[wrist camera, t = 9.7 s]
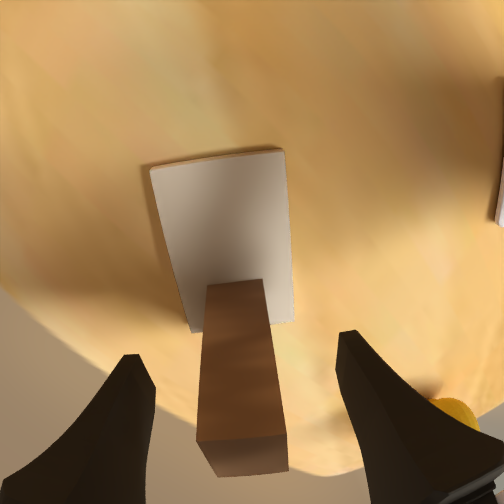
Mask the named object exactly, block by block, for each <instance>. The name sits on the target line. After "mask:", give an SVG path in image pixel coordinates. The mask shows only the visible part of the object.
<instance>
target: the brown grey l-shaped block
mask: <svg viewBox="0 0 504 504" xmlns="http://www.w3.org/2000/svg"><path fill="white" fill-rule="evenodd" d="M149 172H150V177H151V182H152V186H153V191H154V195H155V200H156V204H157V208H158V213H159V217H160V221H161V225H162V229H163V233H164V237H165V241H166V245H167V249H168V253H169V257H170V261H171V264H172V268H173V272H174V276H175V279H176V283H177V286H178V290H179V293H180V297H181V300H182V304H183V307H184V311H185V314H186V317H187V321H188V324H189V327H190V330H191V333H199V332H203V338H202V351H201V365H200V380H199V396H198V413H197V433H196V442H197V443H198V445H199V447H200V449H201V450H202V452H203V454H204V455H205V457H206V459H207V461H208V462H209V464H210V466H211V467H212V469H213V471H214V472H215V474H216V475H217V477H237V476H251V475H261V474H271V473H279V472H287V471H289V467H288V448H287V432H286V426H285V419H284V413H283V406H282V400H281V393H280V387H279V380H278V374H277V367H276V361H275V354H274V348H273V342H272V335H271V329H270V325H271V324H279V323H286V322H293V321H295V320H294V295H293V273H292V254H291V236H290V220H289V205H288V191H287V177H286V165H285V152H284V150H283V149H272V150H262V151H253V152H245V153H237V154H229V155H221V156H214V157H207V158H201V159H194V160H188V161H182V162H176V163H170V164H164V165H159V166H154V167H152V168H151V169H150V170H149Z"/></svg>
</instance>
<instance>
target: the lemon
mask: <svg viewBox="0 0 504 504" xmlns="http://www.w3.org/2000/svg"><path fill="white" fill-rule="evenodd" d="M428 401H429V402H431V403H432V404H434V405H435V406H436V407H438V408H439V409H441V410H442V411H444V412H445V413H447V414H448V415H450V416H452V417H453V418H455V419H457V420H458V421H460V422H462V423H464V424H465V425H467V426H469V427H471V428H473V429H475V430H477V431H479V432H480V429H479V425H478V422H477V420H476V418H475V416H474V414H473V412H472V411H471V409H470V408H469V407H468V406H467V405H466V404H465V403H463V402H462V401H460V400H457V399H454V398H441V399H438V400H437V399H433V398H431V399H428Z"/></svg>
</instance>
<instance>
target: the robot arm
mask: <svg viewBox="0 0 504 504" xmlns="http://www.w3.org/2000/svg"><path fill="white" fill-rule="evenodd" d="M495 223H496V224H497V225H498V226H500V227H504V159H503V169H502V177H501V184H500V191H499V197H498V203H497V209H496V214H495ZM335 370H336V374H337V379H338V383H339V387H340V392H341V395H342V398H343V401H344V403H345V406H346V409H347V412H348V415H349V417H350V420H351V423H352V426H353V428H354V431H355V434H356V437H357V440H358V443H359V446H360V449H361V453H362V458H363V462H364V467H365V472H366V477H367V482H368V487H369V494H370V500H371V504H504V490H503V491H501V492H499V493H498V494H497V495H494V493H493V490H494V489H495V488H496V485H495V483H494V479H496V478H497V477H498V476H499V475H501V474H502V473H503V472H504V442H503V441H501V440H499V439H496V438H494V437H491V436H489V435H486V434H484V433H482V432H479V431H477V430H475V429H473V428H471V427H469V426H467V425H465V424H464V423H462V422H460V421H458V420H457V419H455V418H453V417H452V416H450V415H448V414H447V413H445V412H444V411H442V410H441V409H439V408H438V407H436V406H435V405H434V404H432V403H431V402H429V401H428V400H427V399H426V398H424V397H423V396H422V395H420V394H419V393H418V392H417V391H416V390H414V389H413V388H412V387H411V386H410V385H409V384H408V383H406V382H405V381H404V380H403V379H402V378H401V377H400V376H399V375H398V374H397V373H396V372H395V371H394V370H393V369H392V368H391V367H390V366H389V365H388V364H387V363H386V362H385V361H384V360H383V359H382V358H381V357H380V356H379V355H378V354H377V353H376V352H375V350H374V349H373V348H372V347H371V346H370V345H369V344H368V343H367V342H366V340H365V339H364V338H363V337H362V336H361V335H360V333H359V332H358V331H357V330H351V331H346V332H340V333H339V340H338V350H337V359H336V368H335ZM155 397H156V387H155V385H154V383H153V381H152V380H151V378H150V376H149V374H148V372H147V370H146V368H145V366H144V364H143V361H142V359H141V357H140V355H139V354H129V355H124V356H123V357H122V358H121V360H120V361H119V362H118V364H117V365H116V367H115V368H114V370H113V371H112V372H111V374H110V375H109V377H108V379H107V380H106V381H105V382H104V384H103V385H102V387H101V388H100V390H99V391H98V392H97V394H96V395H95V396H94V398H93V399H92V401H91V402H90V403H89V404H88V406H87V407H86V408H85V409H84V411H83V412H82V413H81V414H80V416H79V417H78V418H77V419H76V421H75V422H74V423H73V424H72V425H71V426H70V427H69V428H68V429H67V430H66V432H65V433H64V434H63V435H62V436H61V437H60V438H59V439H58V440H57V441H55V442H54V443H53V444H52V445H51V446H50V447H49V448H48V449H47V450H45V452H43V453H42V454H41V455H39V456H38V457H37V458H36V459H34V460H33V461H32V462H30V463H29V464H28V465H26V466H25V467H23V468H22V469H20V470H19V471H17V472H15V473H14V474H12V475H10V476H9V477H7V478H5V479H4V480H3V483H2V487H1V490H0V504H146V501H145V500H146V499H145V477H146V462H147V455H148V449H149V443H150V437H151V431H152V425H153V419H154V413H155Z"/></svg>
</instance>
